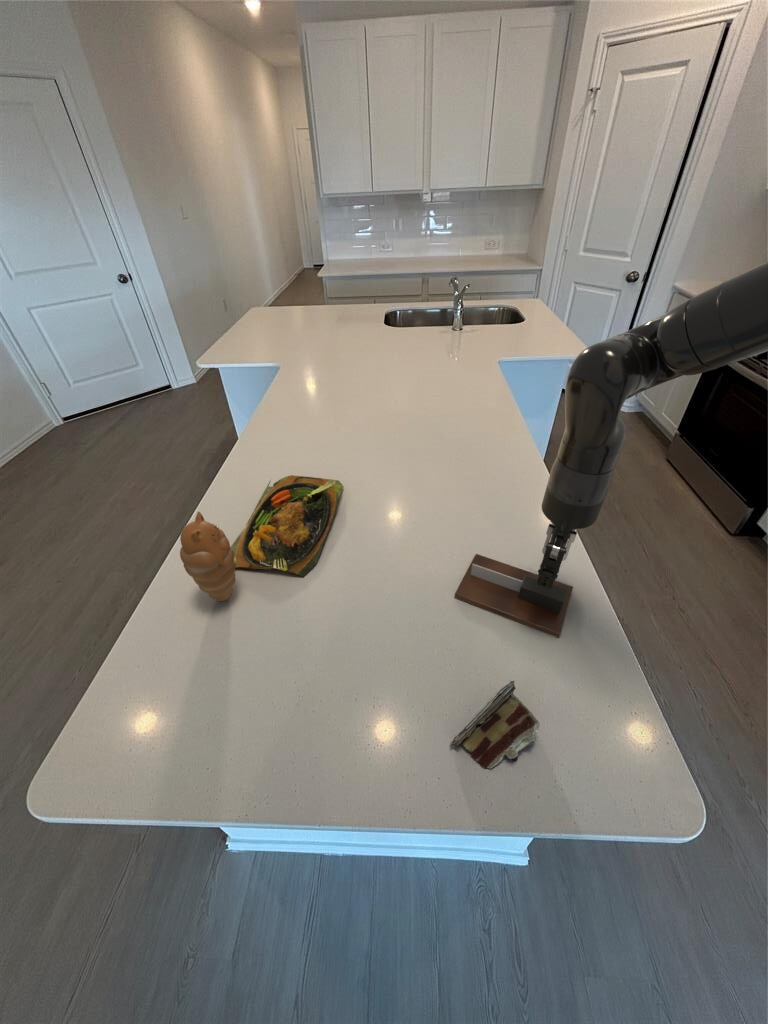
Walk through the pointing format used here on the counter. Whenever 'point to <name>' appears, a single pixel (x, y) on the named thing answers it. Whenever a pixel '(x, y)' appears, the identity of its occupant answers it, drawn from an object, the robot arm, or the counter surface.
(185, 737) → the counter surface
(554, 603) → the knife
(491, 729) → the chocolate cake
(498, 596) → the board
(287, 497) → the prepared meal
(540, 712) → the counter surface
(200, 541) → the cat ice cream
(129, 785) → the counter surface
